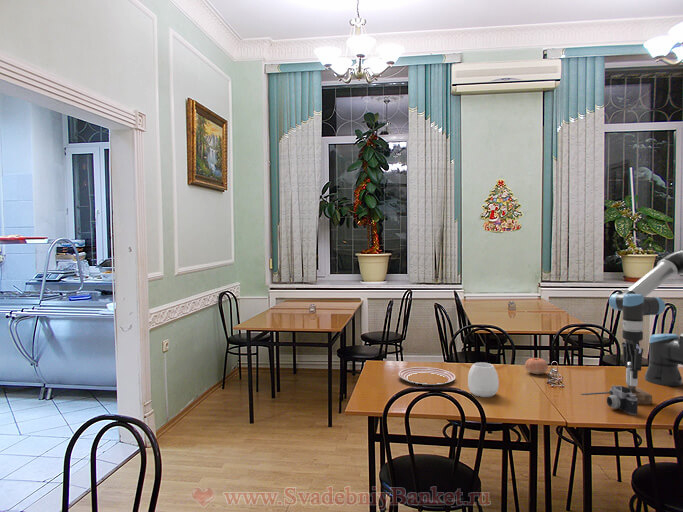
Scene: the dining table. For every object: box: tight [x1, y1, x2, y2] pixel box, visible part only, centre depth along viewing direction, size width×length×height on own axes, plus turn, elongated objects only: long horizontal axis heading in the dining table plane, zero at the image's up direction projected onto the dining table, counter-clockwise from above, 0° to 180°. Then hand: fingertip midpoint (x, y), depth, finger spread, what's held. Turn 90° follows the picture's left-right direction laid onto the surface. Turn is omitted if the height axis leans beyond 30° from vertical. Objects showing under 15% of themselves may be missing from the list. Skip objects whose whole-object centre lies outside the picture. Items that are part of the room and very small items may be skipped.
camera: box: [606, 384, 638, 416], centre depth 202 cm, size 16×8×10 cm, turn 3°
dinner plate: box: [398, 366, 456, 386], centre depth 244 cm, size 28×27×3 cm
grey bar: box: [626, 361, 637, 393], centre depth 213 cm, size 3×3×16 cm
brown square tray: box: [632, 386, 653, 405], centre depth 213 cm, size 11×11×4 cm
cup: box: [467, 362, 500, 398], centre depth 221 cm, size 13×13×14 cm
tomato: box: [524, 357, 549, 375], centre depth 254 cm, size 11×11×8 cm
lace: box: [580, 391, 610, 396], centre depth 221 cm, size 14×1×1 cm, turn 100°
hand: (631, 384), depth 213 cm, fingers closed on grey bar, 3 cm apart
